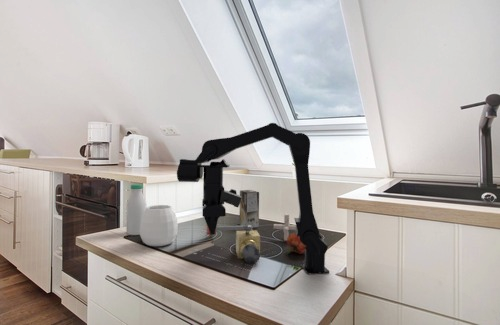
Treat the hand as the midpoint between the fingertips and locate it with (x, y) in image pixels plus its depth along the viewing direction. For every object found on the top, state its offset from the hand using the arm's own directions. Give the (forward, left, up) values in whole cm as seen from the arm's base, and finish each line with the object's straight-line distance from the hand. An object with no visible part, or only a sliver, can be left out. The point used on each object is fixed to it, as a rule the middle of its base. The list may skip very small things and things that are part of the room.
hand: (212, 234), depth 88 cm
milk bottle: (+38, +30, -9) cm, 49 cm away
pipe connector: (+22, -29, -9) cm, 38 cm away
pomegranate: (+7, -28, -9) cm, 31 cm away
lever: (+8, -6, -2) cm, 10 cm away
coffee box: (+46, -18, -9) cm, 50 cm away
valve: (+8, -12, -9) cm, 17 cm away
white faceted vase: (+23, +19, -9) cm, 31 cm away
